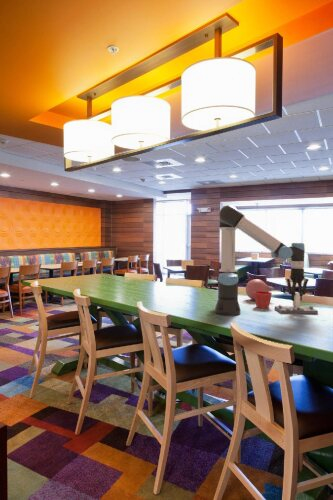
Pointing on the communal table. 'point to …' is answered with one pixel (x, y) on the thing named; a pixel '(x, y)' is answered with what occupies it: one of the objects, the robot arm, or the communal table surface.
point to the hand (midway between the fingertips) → (296, 305)
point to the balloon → (256, 287)
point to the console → (295, 310)
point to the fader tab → (297, 299)
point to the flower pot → (262, 299)
